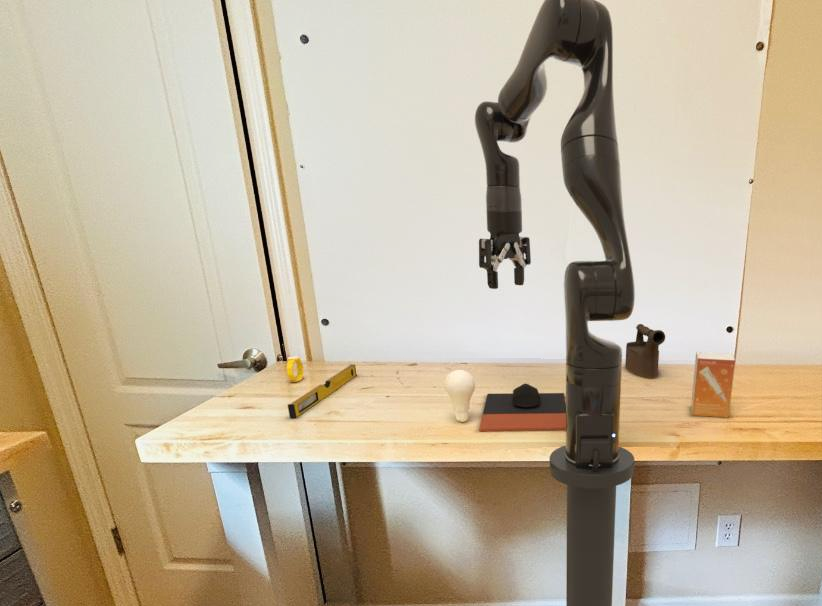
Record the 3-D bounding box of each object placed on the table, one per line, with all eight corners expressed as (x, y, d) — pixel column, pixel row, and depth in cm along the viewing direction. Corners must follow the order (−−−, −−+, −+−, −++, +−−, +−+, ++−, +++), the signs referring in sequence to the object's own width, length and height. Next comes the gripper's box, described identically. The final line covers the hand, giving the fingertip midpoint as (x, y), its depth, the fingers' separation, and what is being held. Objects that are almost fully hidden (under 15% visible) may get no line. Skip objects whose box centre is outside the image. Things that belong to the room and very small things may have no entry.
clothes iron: (640, 382, 157) (642, 330, 152) (624, 366, 171) (625, 319, 166) (669, 381, 159) (672, 330, 154) (650, 365, 173) (653, 318, 168)
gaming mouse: (537, 390, 146) (536, 374, 145) (541, 409, 133) (541, 391, 131) (510, 390, 145) (510, 374, 144) (512, 410, 132) (512, 392, 130)
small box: (692, 416, 133) (697, 357, 128) (690, 407, 139) (695, 351, 134) (729, 418, 132) (735, 359, 127) (726, 409, 138) (732, 352, 133)
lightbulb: (483, 420, 127) (480, 369, 123) (463, 428, 122) (459, 375, 118) (461, 415, 130) (458, 365, 126) (441, 422, 125) (436, 371, 121)
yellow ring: (297, 384, 148) (293, 360, 146) (286, 384, 148) (281, 360, 146) (307, 377, 154) (303, 354, 151) (296, 377, 154) (292, 354, 151)
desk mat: (569, 430, 123) (569, 427, 123) (479, 431, 121) (479, 428, 121) (563, 395, 145) (563, 392, 145) (487, 395, 143) (487, 393, 143)
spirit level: (351, 375, 156) (350, 364, 155) (356, 375, 156) (355, 364, 155) (289, 418, 126) (287, 404, 124) (296, 418, 126) (293, 404, 124)
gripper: (494, 209, 122) (497, 291, 128) (538, 209, 133) (539, 285, 139) (467, 208, 126) (471, 288, 132) (513, 208, 137) (515, 282, 143)
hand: (506, 286), depth 136 cm, fingers open, 8 cm apart
